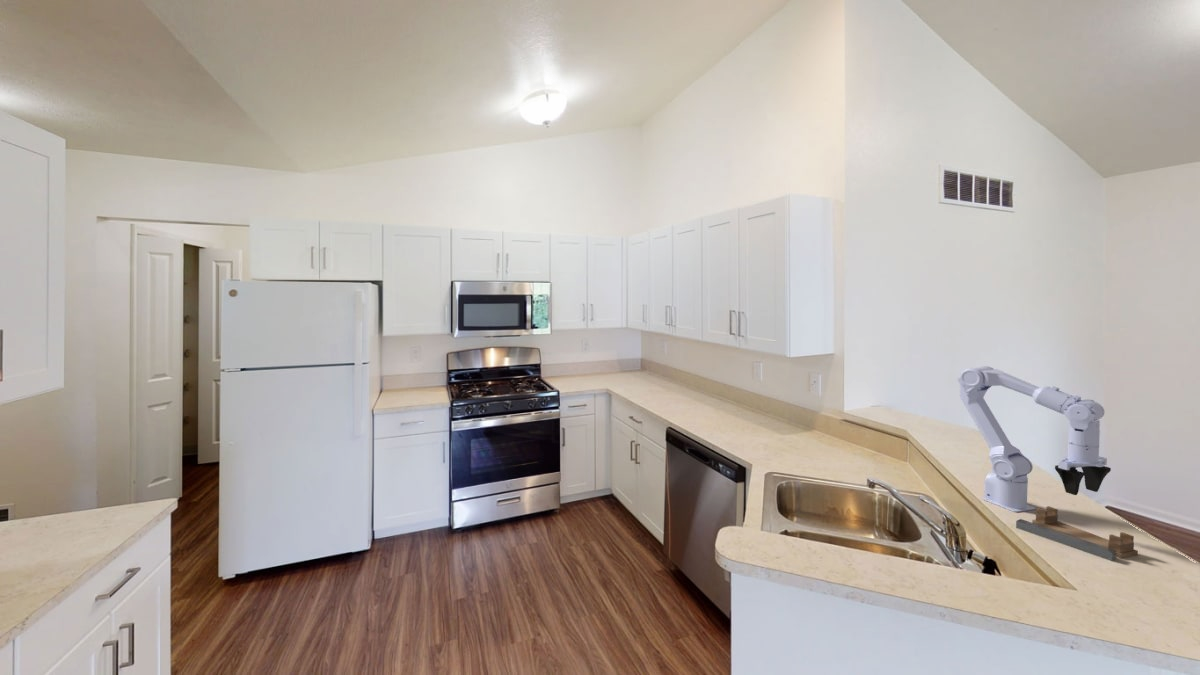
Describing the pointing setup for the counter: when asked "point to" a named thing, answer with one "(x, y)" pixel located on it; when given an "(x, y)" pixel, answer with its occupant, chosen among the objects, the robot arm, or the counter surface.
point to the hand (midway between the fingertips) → (1081, 492)
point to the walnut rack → (1086, 533)
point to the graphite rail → (1067, 540)
